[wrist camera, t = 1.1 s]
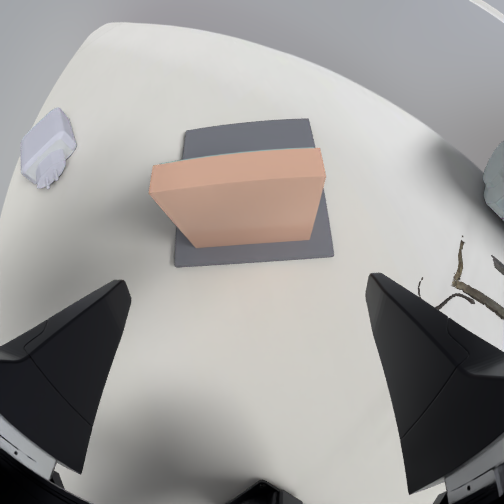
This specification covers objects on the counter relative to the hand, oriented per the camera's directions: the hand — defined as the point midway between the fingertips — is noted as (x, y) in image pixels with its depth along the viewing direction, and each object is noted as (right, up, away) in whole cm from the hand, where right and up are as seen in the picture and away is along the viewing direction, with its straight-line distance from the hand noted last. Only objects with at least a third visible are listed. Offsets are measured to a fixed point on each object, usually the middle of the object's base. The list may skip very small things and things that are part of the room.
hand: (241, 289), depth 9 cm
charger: (-29, +15, +23) cm, 40 cm away
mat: (0, +8, +17) cm, 19 cm away
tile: (0, +3, +15) cm, 15 cm away
